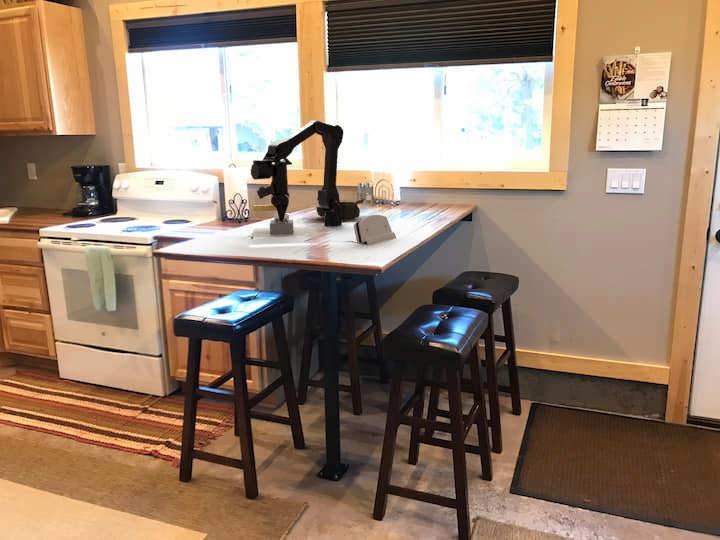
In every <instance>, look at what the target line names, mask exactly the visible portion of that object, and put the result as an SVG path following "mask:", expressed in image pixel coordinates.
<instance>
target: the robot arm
mask: <svg viewBox="0 0 720 540" xmlns="http://www.w3.org/2000/svg"><path fill="white" fill-rule="evenodd" d="M315 134H316V135H319V136H321V141H322V143H323V146H324V150H325V151H324V169H323V185H322V187H321V189H317V198H316V201H317V203H318V204H319V205H320V206H321V208H322V211H323V212H325V215H324V217H323V226H324V227H342V226H343V223H342V222H343V221H342V215H341V213H344V211H345V206H344V205H343V204H342V203H341V202H342V201H340V200H341V199H340V193H339V190H338V188H337V175H338V174H337V173H338V171H337V170H338V158H339V155H338V153H339V148H340V146H341V144H342V142H343V138H344V128H342V126H341V125H338V124H330V123H324V122H322V121H320V120H310V121H309V122H308V123H306V124H305V125H303V126H302V127H301V128H300V129H297V130H296V131H295V132H293V133H291V134H290V135H289V136H287V137H285V138H282V139H279V140H276V141H274V142H271V143H270V144H269V145H268V146H267V152H266V153H265V155H264V157H263V159H262V160H257V159H256V160H255V159H254V160H252V165H251V166H250V176H251V177H252V179H253V180H269V179H271V181H270V184H269V185H266V186H264V185H262V186H259V187H258V189H257V190H256V193H257V195H258V198H259V200H262V199H264V198H266V197H268V196H270V195H271V197H270V205H274V206H275V207H276V208H277V210H276V211H277V212H276V213H278V216H279V220H280V221H283V220H284V216H285V213H286V212H287V210H288V207H289V205H290V204H289V203H290V192H289V181H288V166H292V165H293V163H292V162H291V161H290V160H289V158H288V157H289V156H290V155H291V154H292V153H293V151H294V149H295V148H296V147H297V146H299V145H300V144H301V143H304V142H305V141H306V140H307V139H309V138H311V137H312V136H314V135H315Z"/></svg>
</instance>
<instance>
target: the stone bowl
mask: <svg viewBox="0 0 720 540" xmlns="http://www.w3.org/2000/svg"><path fill="white" fill-rule="evenodd" d="M365 200H366V198H365V197H364V198H362V199H358V200H346V201H345V200H344V201H340V202H341V203H342V204H343V205H344V206H345V211H344V213H341V215H342V222H350V221H352V220H355V219H358V218H359V217H360V214H361V209H360V208H359V206H358V205H359V204H363V203H364V201H365ZM309 208H316V213H317V215H318V216H319V217H322V218H324V215H325V212H323V211H322V208H321V206H320V205H319V203H318V204H313V205H309Z"/></svg>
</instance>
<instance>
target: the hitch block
mask: <svg viewBox="0 0 720 540" xmlns="http://www.w3.org/2000/svg"><path fill="white" fill-rule="evenodd" d="M304 235H305V236H308V235H311V236H312V235H318V230H317V226H302V227H300V226H298V227H297V226H296V227H295V226H294V219H289V220H287V221H286V223H278V221H274V219H273V220H272V219H271V220H270V222H269V227H266V228H264V227H263V228H254V229H253V232H252V233H251V236H250V239H251V240H253V239H254V238H257V237H279V236H281V237H283V236H304Z"/></svg>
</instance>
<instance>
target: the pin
mask: <svg viewBox="0 0 720 540" xmlns="http://www.w3.org/2000/svg"><path fill="white" fill-rule="evenodd" d="M273 220H274V221H278V223H286V221H287V220H290V212H287V211H286V213H285V216H284V220H283V221H280V220H279V216H278V212H274V213H273Z"/></svg>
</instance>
